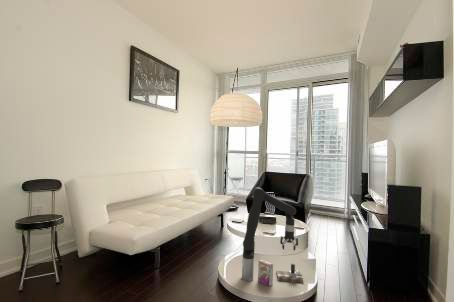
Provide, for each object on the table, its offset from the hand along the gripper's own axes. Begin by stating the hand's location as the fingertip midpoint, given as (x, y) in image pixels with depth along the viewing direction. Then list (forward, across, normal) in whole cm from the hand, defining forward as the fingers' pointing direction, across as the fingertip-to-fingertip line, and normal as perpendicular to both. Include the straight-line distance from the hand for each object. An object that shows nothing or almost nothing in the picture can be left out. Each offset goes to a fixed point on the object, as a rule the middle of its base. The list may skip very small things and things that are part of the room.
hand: (288, 249), depth 196 cm
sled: (+22, +4, +3) cm, 23 cm away
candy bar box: (+25, -19, -10) cm, 33 cm away
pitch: (+24, +2, +4) cm, 25 cm away
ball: (+20, +9, +6) cm, 23 cm away
